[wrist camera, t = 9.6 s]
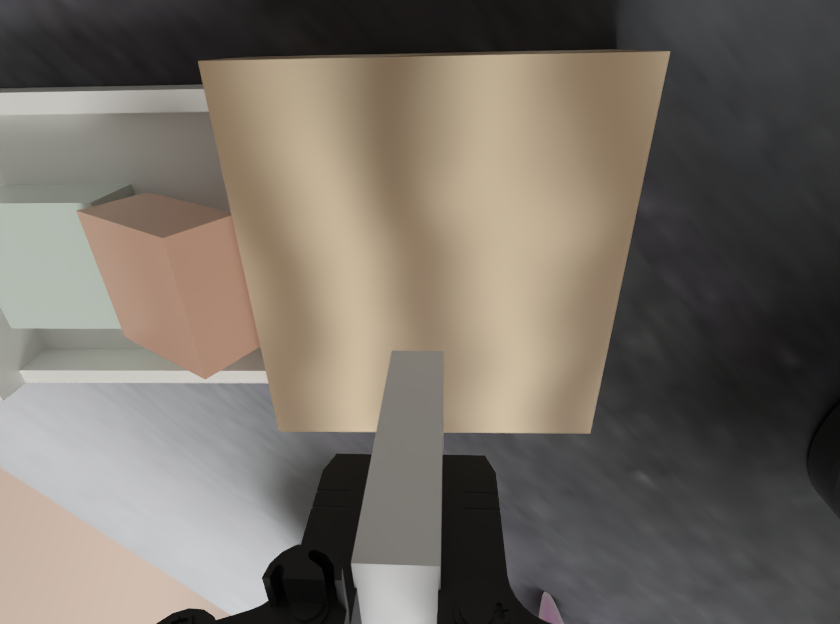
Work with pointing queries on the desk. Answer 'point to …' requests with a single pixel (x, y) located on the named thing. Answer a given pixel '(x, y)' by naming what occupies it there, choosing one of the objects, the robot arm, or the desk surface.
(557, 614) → the lily
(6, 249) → the tile grey
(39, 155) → the tray
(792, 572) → the desk surface
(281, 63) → the oak board
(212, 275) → the tile terracotta
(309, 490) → the desk surface
